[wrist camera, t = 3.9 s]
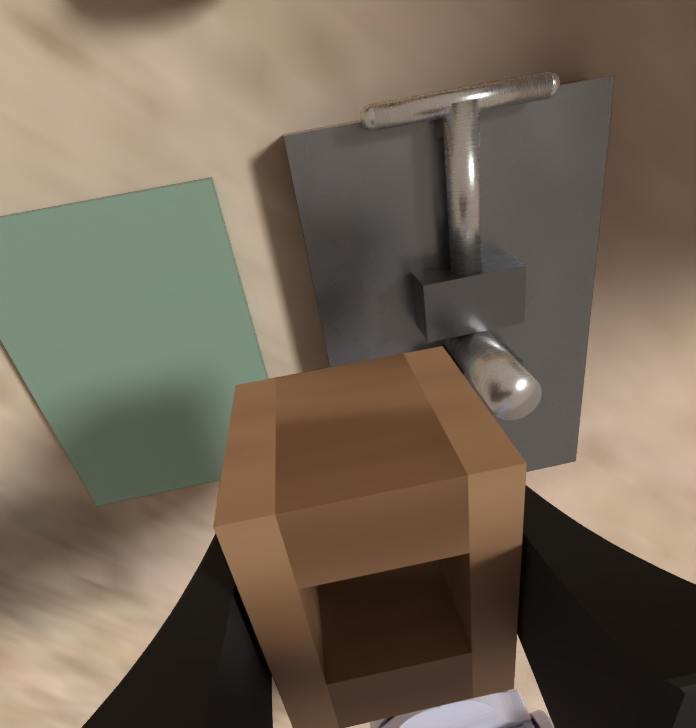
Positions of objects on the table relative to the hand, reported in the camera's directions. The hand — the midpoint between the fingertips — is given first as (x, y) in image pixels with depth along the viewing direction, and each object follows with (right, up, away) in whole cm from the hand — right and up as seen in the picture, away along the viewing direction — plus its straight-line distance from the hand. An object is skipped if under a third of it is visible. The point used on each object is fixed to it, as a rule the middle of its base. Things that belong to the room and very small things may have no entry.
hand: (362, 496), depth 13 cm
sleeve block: (0, 0, +1) cm, 1 cm away
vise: (+4, +6, +10) cm, 12 cm away
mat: (-9, +4, +8) cm, 13 cm away
